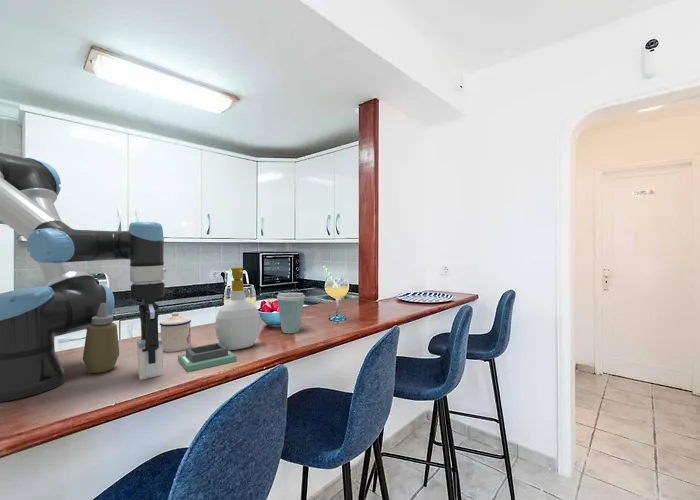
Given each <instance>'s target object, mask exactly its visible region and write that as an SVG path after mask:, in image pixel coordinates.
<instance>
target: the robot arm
mask: <svg viewBox="0 0 700 500" xmlns="http://www.w3.org/2000/svg"><path fill="white" fill-rule="evenodd" d="M61 183H62V182H61V178H60V174H59V173H58V172H57V170H56V169H55V168H54V167H53V166H52V165H50V163H47V162H45V161H41V160H37V159H35V158H32V157H21V156H18V155H13V154H9V153H3V152H0V221H1V222H3V223H4V224H6V225H7V226H8V227H9V228H10V229H11V230H13V231H14V232H15V233H17V234H18V235H20V237H21V236H22V237H23V239H25V240H26V250H27V252H29V255H30V257H31V259H32V260H34V261H35V262H37V264H38V266H39V267H38V268H39V269H40V271H41V273H42V276H43V279H44V280H45V281H44V282H45V283H46V285H45V286H34V287H28V288H20V289H19V288H18V289H14V290H10V291H5V292H2V293H1V292H0V402H8V401H9V402H10V401H14V400H19V399H23V398H27V397H31V396H32V397H33V396H35V395H38V394H41V393H44V392H47V391H49V390H52V389H54V388H56V387H58V386H60V385H62V384H63V383H64V382H65V381H66V380H65V379H66V377H65V376H66V375H65V369H64V367H63V365H62V363H61V361H60V359H59V357H58V355H57V353H56V349H55V348H56V347H55V346H56V345H55V337H59V336H63V335H67V334H71V333H75V332H79V331H83V330H87V328H88V327H89V326H90V325H92V317H94V316H97V313H98V310H99V306H100V303H106V307H107V311H108V315H112V316H113V311H114V310H115V303H116V302H115V297H114V293H113V291H112V290H111V288H110V287H108V286H106V285H105V284H98V283H97V281H96V278H95V277H94V275H93V274H90V273H86V271H84V268H83V266H82V263H81V262H90V261H91V262H94V261H113V260H114V261H116V260H117V261H119V260H122V261H123V260H129V262H130V263H129V281H130V282H131V283H132V284H131V285H130V298H131V299H132V300H139V301H140V300H141V304H139V305H138V311H139V320H140V333H141V338H140V340H144V339H145V346H146V348H145V349H142V352H145V377H149V376H154V375H158V355H157V349H158V348H159V345H158V337H159V312H160V311H159V304H157V303H156V299H160V298H162V297H164V296H165V295H166V291H165V288H166V287H165V285H166V283H164V282H163V281H164V280H165V273H166V272H167V268H165V266H164V265H165V262H164V257H165V255H164V250H165V249H164V248H165V247H164V242H165V238H164V231H163V230H164V229H163V225H162V224H161V223H159V222H156V221H153V222H151V221H149V222H148V221H135V222H134V221H133V222H130V223H129V225H128V230H94V229H93V230H91V229H90V230H89V229H74V228H72V227H71V226H69V225H68V224H66V223H65V222H63V221H62V220H61V219H62V218H61V217H60V215H59V212H58V210H57V208H56V206H55V202H56V201H57V199H58V196H59V194H60V191H61V189H62V188H61Z"/></svg>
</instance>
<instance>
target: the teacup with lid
mask: <svg viewBox="0 0 700 500" xmlns="http://www.w3.org/2000/svg"><path fill="white" fill-rule="evenodd" d="M191 323H192V320H191V318H189V317H186V316H183V315H182V314H180V313H179V312H178V311H177V312H175V311H174V312H172V313H171V315H170V316H168V317H167V318H165V319H162V320H161V321H160V323H159V326H160V339H161V340H162V348H163V353H164V352H166V353H175V352H181V351H184V350H185V351H186V349H187V348H191V346H192V342H191V341H192V340H191V337H192V335H191V334H192V333H191Z"/></svg>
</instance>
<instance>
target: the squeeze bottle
mask: <svg viewBox="0 0 700 500" xmlns="http://www.w3.org/2000/svg"><path fill="white" fill-rule="evenodd" d="M84 340H85V341H84V349H83V355H82V362H83V363H84V365H85V368H86V371H87V372H88V373H92V374H95V373H97V374H98V373H105V372H108V371H110V370H111V371H112V370H113V369H115V366H116V363H117V361H118V358H119V356H120V345H119V333H118V325H117V324H116V323H114V316H113V314H112V315H108V311H107V307H106V303H100V306H99V310H98V313H97V316H94V317H92V325H90V326H89V327H88V328H87V329H86V335H85V339H84Z"/></svg>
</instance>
